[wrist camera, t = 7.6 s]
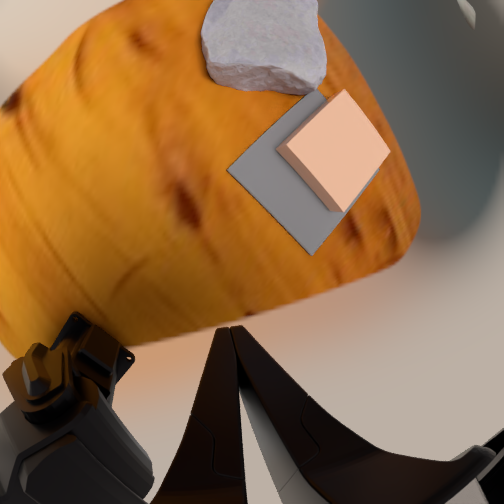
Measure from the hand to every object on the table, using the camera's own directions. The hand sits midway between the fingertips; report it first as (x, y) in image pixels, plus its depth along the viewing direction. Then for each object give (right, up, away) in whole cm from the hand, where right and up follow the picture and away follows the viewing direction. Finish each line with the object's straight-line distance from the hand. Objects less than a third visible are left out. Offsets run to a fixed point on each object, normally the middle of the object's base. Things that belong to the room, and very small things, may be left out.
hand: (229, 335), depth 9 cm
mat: (+6, +10, +13) cm, 18 cm away
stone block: (+1, +21, +10) cm, 24 cm away
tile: (+5, +8, +12) cm, 15 cm away
